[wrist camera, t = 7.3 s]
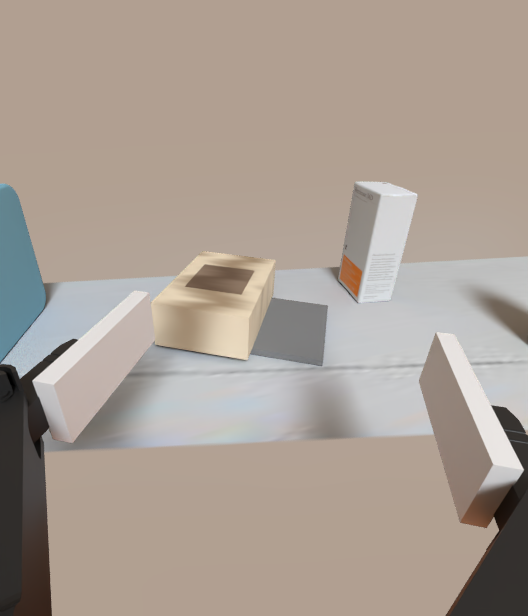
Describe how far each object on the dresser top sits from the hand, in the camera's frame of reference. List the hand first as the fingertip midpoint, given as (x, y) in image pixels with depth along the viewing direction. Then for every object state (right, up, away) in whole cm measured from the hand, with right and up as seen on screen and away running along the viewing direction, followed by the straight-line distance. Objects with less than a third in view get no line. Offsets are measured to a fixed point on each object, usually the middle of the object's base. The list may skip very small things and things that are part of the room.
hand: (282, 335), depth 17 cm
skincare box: (+11, +3, +26) cm, 28 cm away
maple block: (-6, -1, +12) cm, 13 cm away
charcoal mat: (-3, 0, +18) cm, 19 cm away
